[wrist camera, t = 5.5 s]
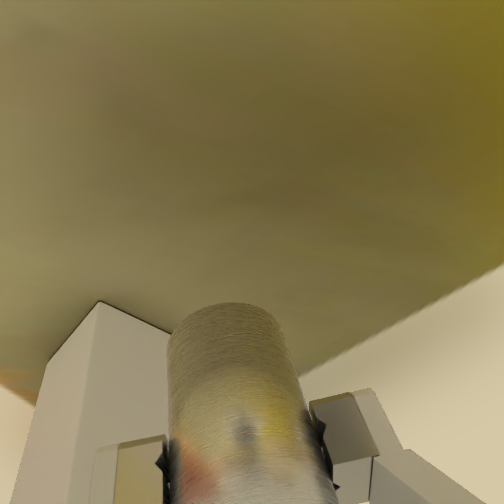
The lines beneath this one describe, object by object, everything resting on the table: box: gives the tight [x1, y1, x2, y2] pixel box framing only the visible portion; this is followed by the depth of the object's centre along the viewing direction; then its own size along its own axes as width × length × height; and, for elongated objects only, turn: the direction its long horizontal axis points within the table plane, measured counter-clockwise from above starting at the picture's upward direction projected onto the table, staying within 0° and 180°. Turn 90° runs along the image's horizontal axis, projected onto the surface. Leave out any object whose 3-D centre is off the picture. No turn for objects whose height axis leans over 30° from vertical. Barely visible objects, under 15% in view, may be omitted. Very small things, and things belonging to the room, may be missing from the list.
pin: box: [167, 303, 339, 504], centre depth 10 cm, size 3×3×8 cm
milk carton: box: [10, 302, 171, 504], centre depth 26 cm, size 7×7×19 cm
